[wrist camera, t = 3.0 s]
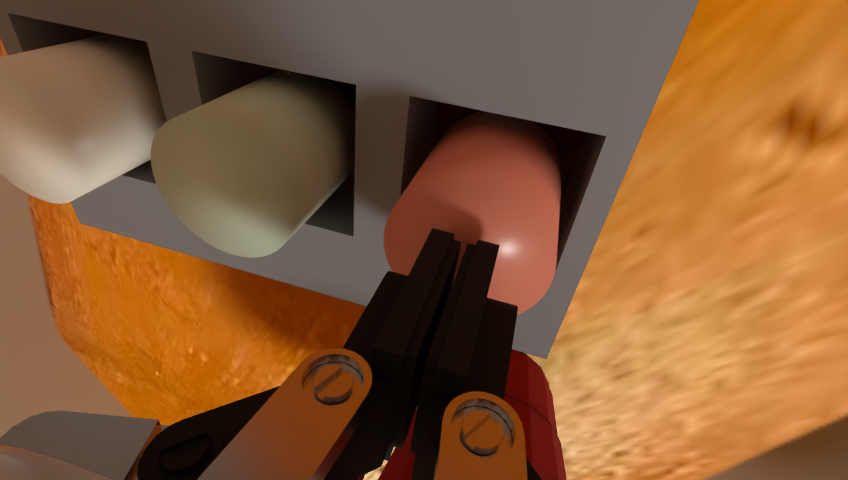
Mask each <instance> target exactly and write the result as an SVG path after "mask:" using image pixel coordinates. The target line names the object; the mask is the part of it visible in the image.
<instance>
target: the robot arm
mask: <svg viewBox="0 0 848 480" xmlns="http://www.w3.org/2000/svg"><path fill="white" fill-rule="evenodd" d="M499 246H500V245H498V244H494V243H490V242H486V241H482V240H478V241H477V244H476V245H474V244H470V243H468V244H467V247H466V249H465V252H464V255H463V258H462V261H461V263H460V266H459V269H458V272H457V275H456V277H455V280H454V276H455V272H456V267H457V262H458V257H459V252H460V247H461V241H458V240H454V233H450V232H446V231H443V230H439V229H435V228H432V230H431V231H430V233H429V235H428V237H427V239H426V241H425V243H424V245H423V247H422V249H421V251H420V253H419V255H418V257H417V259H416V261H415V263H414V265H413V267H412V269H411V271H410V273H409V275H408V276H407V275H403V274H399V273H396V272H392V271H388V272H387V273H386V274H385V276H384V277H383V279H382V281H381V283H380V284H379V286H378V288H377V290H376V291H375V293H374V295H373V297H372V298H371V300H370V302H369V304H368V305H367V307H366V309H365V310H364V312H363V314H362V316H361V317H360V319H359V321H358V323H357V324H356V326H355V328H354V330H353V331H352V333H351V335H350V337H349V338H348V340H347V342H346V344H345V345H344V347H343V348H329V349H324V350H320V351H318V352H316V353H314V354H311V355H309V356H308V357H307V358H306V359H305V360H304V361H302V362H301V363H300V364H299V365H298V367H297V368H296V369H295V370H294V371H293V372H292V373H291V374H290V376H289V377H288V378H287V379H286V380H285V381H284V382H283V383H282V385H281V386H279V387H276V388H273V389H270V390H267V391H264V392H261V393H258V394H256V395H253V396H250V397H247V398H244V399H241V400H238V401H235V402H232V403H230V404H227V405H224V406H221V407H218V408H215V409H212V410H209V411H206V412H204V413H201V414H198V415H195V416H192V417H189V418H186V419H183V420H181V421H179V422H177V423H175V424H172V425H170V426H164V425H160V423H159V420H154V419H143V418H132V417H122V416H111V415H101V414H90V413H79V412H69V411H50V412H44V413H40V414H38V415H35V416H31V417H29V418H27V419H25V420H23V421H22V422H20V423H18V424H17V425H15V426H13V427H12V428H11V429H10V430H9V431H7V432H6V433H5V434H4V435H3V436H2V437H1V438H0V480H363V478H364V475H365V474H366V473H368V472H370V471H373V470H375V469H377V468H379V467H381V466H382V463H383V461H384V460H387V461H389V459H390V456H391V453H392V450H393V448H394V447H397V448H400V449H402V448H403V446H404V444H405V441H406V438H407V435H408V432H409V429H410V426H411V423H412V420H413V417H414V414H415V411H416V408H417V412H416V418H415V423H414V429H413V435H412V440H411V446H410V452H412V453H415V454H416V455H415V460H414V465H413V470H412V475H411V477H412V479H413V480H542V479H541V477H540V476H539V475H538V473H537V472H536V470H535V469H534V468H533V466H532V465H531V464H530V462H529V461H528V459H527V458H526V450H525V434H524V430H523V426H522V422H521V420H520V418H519V417H518V415H517V413H516V411H515V410H514V409H513V408H512V407H511V406H510V405H509V404H508V403H507V402H505V401H504V397H505V391H506V384H507V377H508V371H509V364H510V358H511V351H512V345H513V338H514V332H515V325H516V319H517V312H518V306H516V305H513V304H509V303H505V302H502V301H498V300H494V299H491V298H487V295H488V291H489V287H490V283H491V279H492V275H493V271H494V267H495V262H496V258H497V254H498V250H499ZM453 281H454V283H453Z"/></svg>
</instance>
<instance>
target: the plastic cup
mask: <svg viewBox="0 0 848 480" xmlns="http://www.w3.org/2000/svg"><path fill="white" fill-rule="evenodd" d="M504 401H505V402H507V403H508V404H509V405H510V406H511V407H512V408H513V409H514V410H515V411H516V413H517V415H518V417H519V418H520V420H521V422H522V426H523V430H524V434H525V450H526V458H527V459H528V461H529V462H530V464H531V465H532V466H533V468H534V469H535V470H536V472H537V473H538V475H539V476H540V477H541V479H542V480H567V479H566V473H565V467H564V460H563V454H562V448H561V442H560V440H559V438H558V436H557V428H556V420H555V413H554V405H553V398H552V393H551V391H550V389H549V383H548V381H547V379H546V377H545V375H544V372H543V370H542V368H540V367H539V366H538V365H537V364H536V363H535V362H534V361H533V360H532V359H530V358H529V357H528V356H527V355H525V354H523V353H520V352H518V351H516V350H514V349H512V351H511V358H510V364H509V371H508V377H507V384H506V391H505V397H504ZM416 412H417V409H416V411H415V414H414V417H413V420H412V423H411V426H410V429H409V432H408V435H407V438H406V441H405V444H404V446H403V448H402V449H400V448H397V447H396V448H395V449H394V451H393V453H392V455H391V457H390V459H389V461H388V462H387V464H386V466H385V468H384V470H383V471H382V473H381V475H380V477H379V479H378V480H413V479H412V477H411V475H412V470H413V465H414V460H415V455H416V454H415V453H412V452H410V446H411V440H412V435H413V429H414V423H415V418H416Z"/></svg>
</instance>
